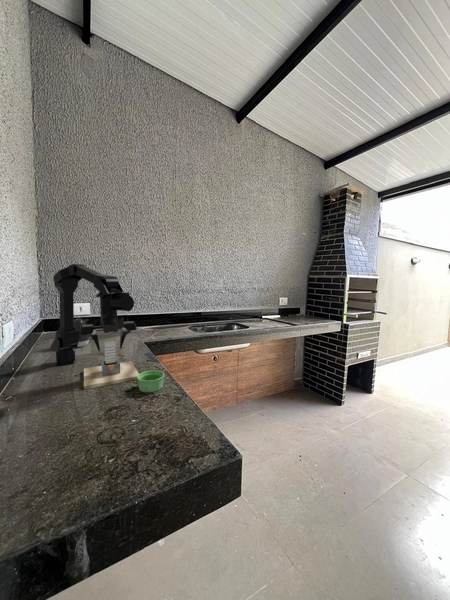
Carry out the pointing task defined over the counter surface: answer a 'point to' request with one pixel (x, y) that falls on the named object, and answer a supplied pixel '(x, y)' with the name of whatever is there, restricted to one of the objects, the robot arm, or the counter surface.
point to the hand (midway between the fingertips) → (110, 349)
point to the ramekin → (150, 381)
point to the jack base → (109, 374)
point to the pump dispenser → (83, 338)
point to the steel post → (110, 352)
